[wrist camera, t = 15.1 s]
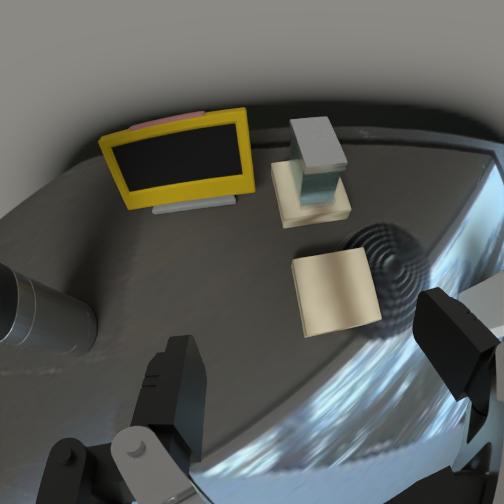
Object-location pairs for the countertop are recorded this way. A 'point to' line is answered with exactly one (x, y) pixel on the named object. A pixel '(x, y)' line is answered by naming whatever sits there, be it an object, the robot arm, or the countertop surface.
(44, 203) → the countertop surface
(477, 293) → the milk carton
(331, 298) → the stand
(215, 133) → the toy computer monitor
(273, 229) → the countertop surface
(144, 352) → the countertop surface
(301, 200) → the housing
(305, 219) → the stand
